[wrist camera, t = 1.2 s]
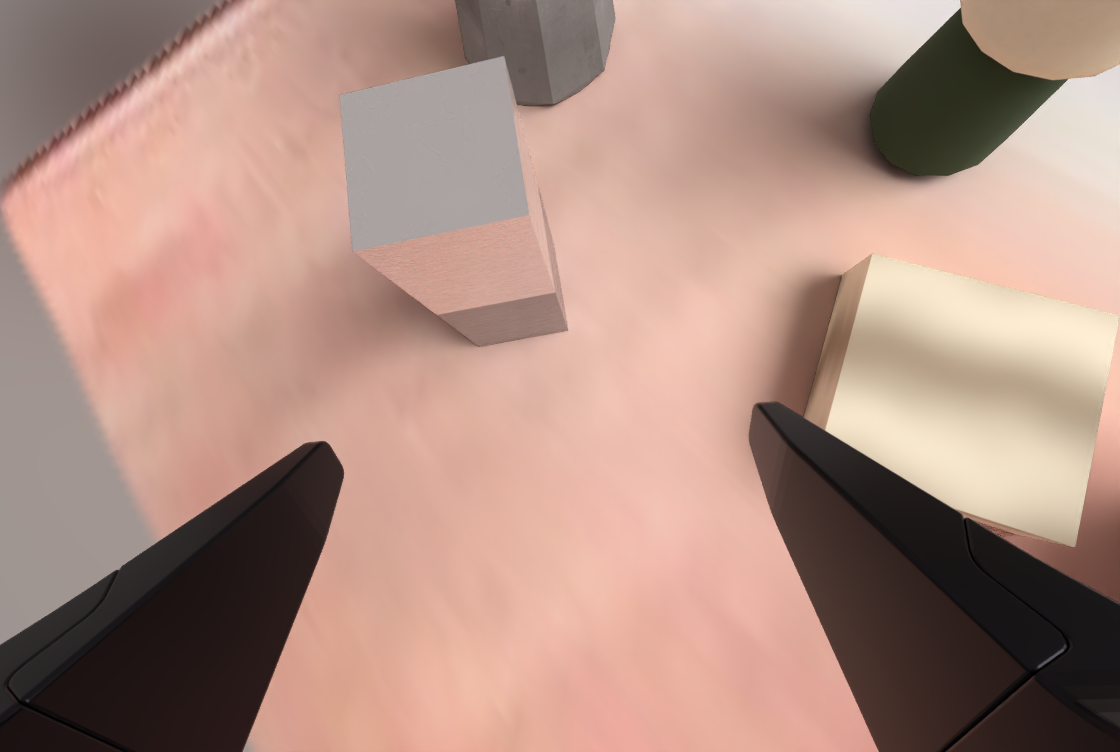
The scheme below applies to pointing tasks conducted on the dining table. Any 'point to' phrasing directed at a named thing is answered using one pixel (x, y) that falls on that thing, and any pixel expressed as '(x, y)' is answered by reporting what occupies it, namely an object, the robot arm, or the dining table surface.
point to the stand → (968, 391)
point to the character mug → (988, 78)
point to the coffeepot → (540, 43)
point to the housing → (453, 201)
